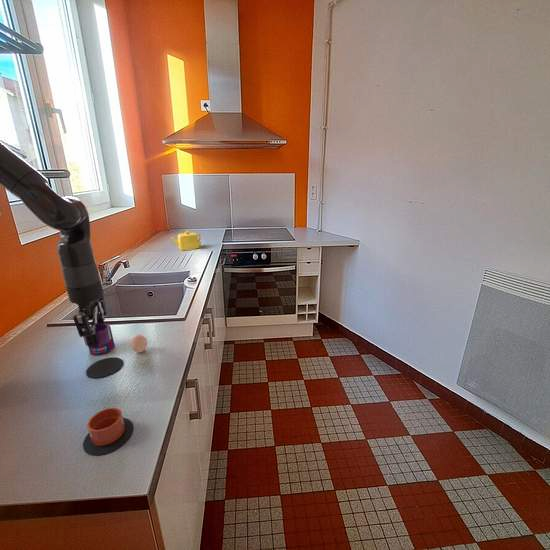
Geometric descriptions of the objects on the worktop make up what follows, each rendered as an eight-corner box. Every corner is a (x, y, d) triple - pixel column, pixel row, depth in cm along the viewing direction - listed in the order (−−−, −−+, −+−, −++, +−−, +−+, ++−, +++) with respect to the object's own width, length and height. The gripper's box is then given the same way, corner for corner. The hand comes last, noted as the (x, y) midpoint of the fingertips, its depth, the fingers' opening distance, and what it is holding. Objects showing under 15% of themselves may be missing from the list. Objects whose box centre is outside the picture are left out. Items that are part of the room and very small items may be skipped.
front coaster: (75, 460, 56) (75, 459, 56) (92, 422, 64) (92, 421, 64) (127, 450, 58) (127, 449, 57) (137, 415, 66) (137, 414, 66)
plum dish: (82, 349, 77) (78, 335, 75) (90, 337, 82) (87, 324, 81) (107, 346, 78) (104, 332, 76) (114, 334, 83) (111, 321, 82)
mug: (87, 357, 87) (82, 337, 85) (93, 340, 96) (88, 321, 94) (113, 352, 90) (108, 332, 87) (117, 336, 98) (112, 317, 96)
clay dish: (87, 450, 57) (82, 434, 56) (97, 425, 63) (93, 410, 62) (121, 444, 59) (116, 428, 57) (128, 420, 64) (124, 405, 63)
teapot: (174, 252, 202) (171, 234, 198) (171, 248, 212) (169, 231, 209) (203, 248, 210) (201, 231, 206) (200, 244, 220) (198, 228, 216)
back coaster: (80, 380, 77) (80, 379, 77) (93, 360, 86) (92, 359, 86) (118, 375, 79) (118, 374, 79) (126, 356, 88) (126, 355, 87)
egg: (134, 357, 87) (130, 340, 85) (130, 350, 90) (127, 334, 88) (150, 352, 89) (147, 335, 87) (146, 345, 92) (143, 329, 91)
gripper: (77, 273, 80) (92, 328, 86) (52, 293, 67) (71, 357, 72) (108, 270, 82) (120, 325, 87) (89, 289, 68) (105, 353, 74)
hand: (98, 339), depth 80 cm, fingers closed on plum dish, 6 cm apart
